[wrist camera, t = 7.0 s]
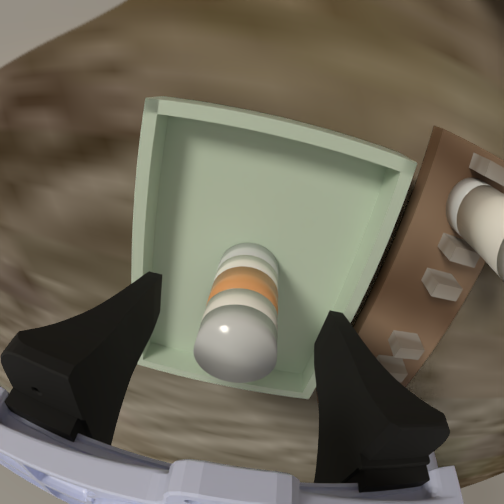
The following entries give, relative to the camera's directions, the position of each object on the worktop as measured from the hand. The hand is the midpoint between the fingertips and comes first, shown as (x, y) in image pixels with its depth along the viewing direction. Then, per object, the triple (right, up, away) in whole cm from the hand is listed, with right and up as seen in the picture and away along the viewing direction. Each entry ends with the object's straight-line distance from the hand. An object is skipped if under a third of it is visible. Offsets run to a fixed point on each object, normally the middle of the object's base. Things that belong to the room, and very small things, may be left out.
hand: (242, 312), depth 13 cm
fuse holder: (+10, 0, +4) cm, 11 cm away
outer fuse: (+11, +5, 0) cm, 12 cm away
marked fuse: (0, +2, +3) cm, 3 cm away
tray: (0, +2, +3) cm, 4 cm away
